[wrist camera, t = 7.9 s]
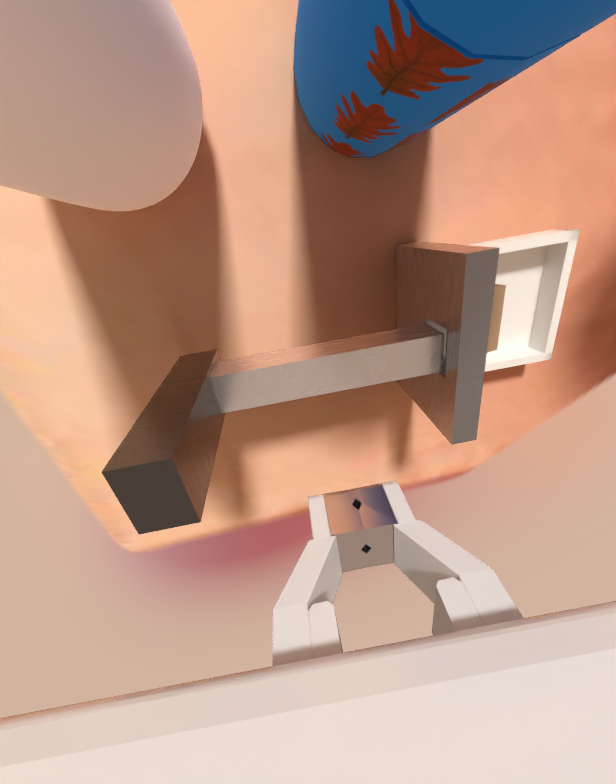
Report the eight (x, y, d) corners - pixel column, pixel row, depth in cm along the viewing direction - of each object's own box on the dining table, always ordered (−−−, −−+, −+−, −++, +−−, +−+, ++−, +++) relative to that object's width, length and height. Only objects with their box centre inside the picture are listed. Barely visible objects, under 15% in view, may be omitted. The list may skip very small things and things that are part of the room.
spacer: (470, 280, 30) (506, 285, 27) (464, 338, 33) (497, 349, 29) (425, 291, 29) (456, 297, 26) (423, 350, 32) (452, 363, 28)
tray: (551, 229, 30) (579, 229, 27) (529, 349, 35) (550, 359, 33) (416, 253, 29) (431, 255, 27) (415, 371, 35) (428, 382, 32)
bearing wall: (416, 241, 29) (499, 247, 19) (415, 379, 35) (476, 439, 25) (395, 245, 29) (466, 253, 18) (398, 382, 35) (451, 444, 25)
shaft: (418, 312, 27) (550, 384, 14) (417, 356, 28) (534, 454, 16) (180, 356, 26) (101, 472, 13) (195, 398, 28) (139, 534, 15)
